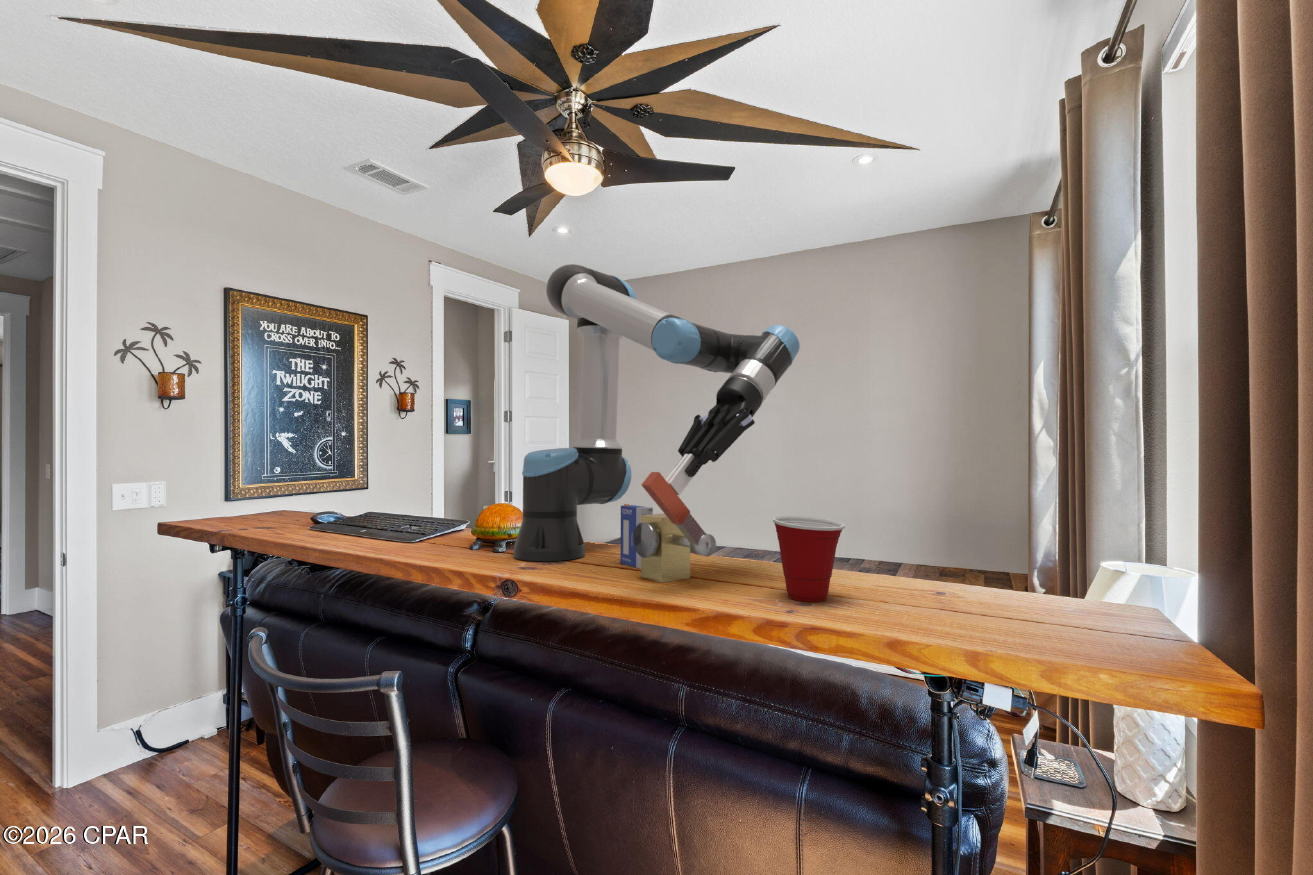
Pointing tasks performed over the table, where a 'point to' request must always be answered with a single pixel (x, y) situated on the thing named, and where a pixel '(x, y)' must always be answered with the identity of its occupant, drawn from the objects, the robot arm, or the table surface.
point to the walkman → (631, 533)
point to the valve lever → (679, 514)
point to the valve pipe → (662, 549)
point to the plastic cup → (807, 555)
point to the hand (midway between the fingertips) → (671, 488)
